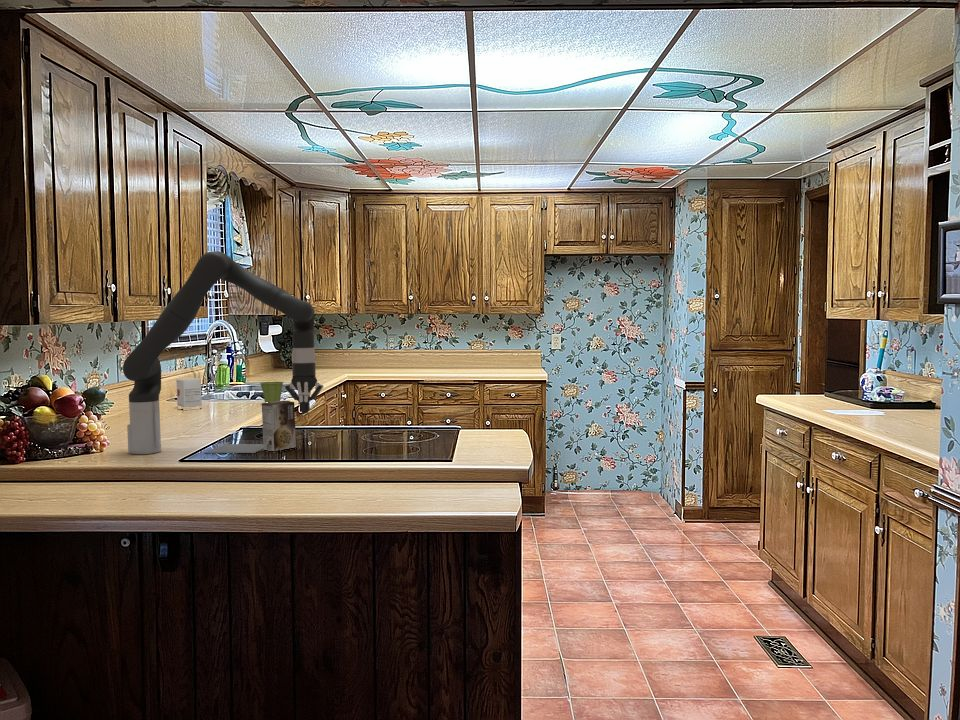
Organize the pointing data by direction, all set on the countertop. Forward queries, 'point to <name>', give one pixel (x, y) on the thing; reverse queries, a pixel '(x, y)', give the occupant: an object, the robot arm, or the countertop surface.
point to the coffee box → (278, 425)
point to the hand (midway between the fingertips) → (305, 413)
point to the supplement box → (189, 392)
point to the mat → (237, 448)
